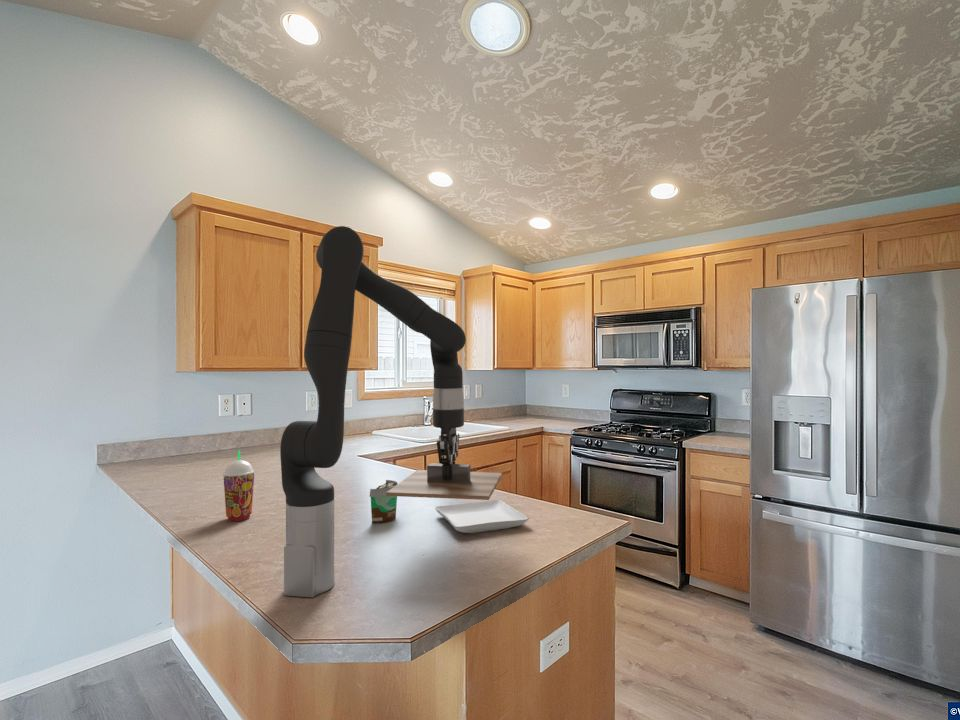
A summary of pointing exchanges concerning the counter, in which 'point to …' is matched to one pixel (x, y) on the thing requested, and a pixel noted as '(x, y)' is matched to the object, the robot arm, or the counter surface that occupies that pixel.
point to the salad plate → (481, 516)
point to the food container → (383, 503)
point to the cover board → (448, 483)
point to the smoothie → (238, 489)
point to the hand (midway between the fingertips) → (449, 478)
